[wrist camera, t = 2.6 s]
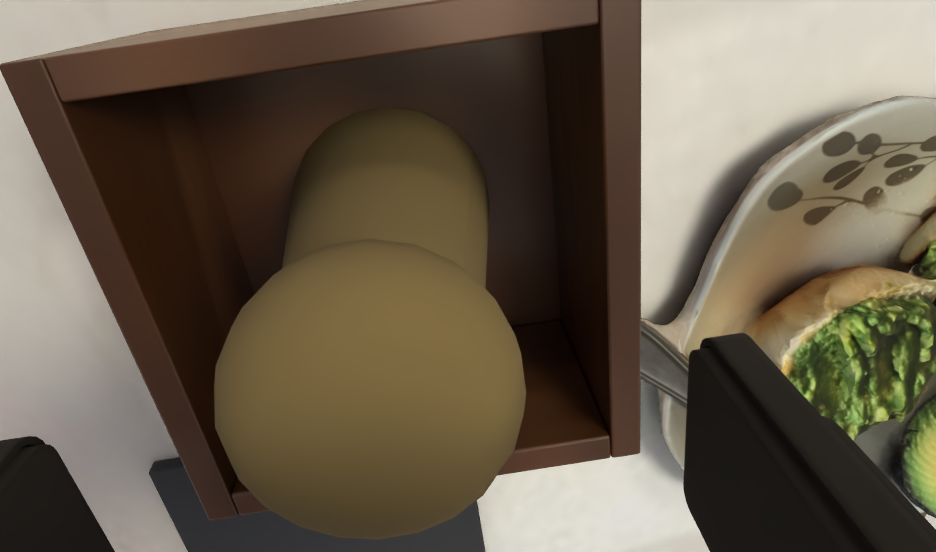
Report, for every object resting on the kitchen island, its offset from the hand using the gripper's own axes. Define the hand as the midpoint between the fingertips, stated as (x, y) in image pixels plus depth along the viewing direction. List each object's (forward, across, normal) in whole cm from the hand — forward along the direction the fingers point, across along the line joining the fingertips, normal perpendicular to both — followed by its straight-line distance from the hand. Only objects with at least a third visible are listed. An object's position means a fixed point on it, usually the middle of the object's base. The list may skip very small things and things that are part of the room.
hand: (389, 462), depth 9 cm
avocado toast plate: (+12, -17, +8) cm, 22 cm away
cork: (+11, 0, 0) cm, 11 cm away
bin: (+12, 0, 0) cm, 12 cm away
